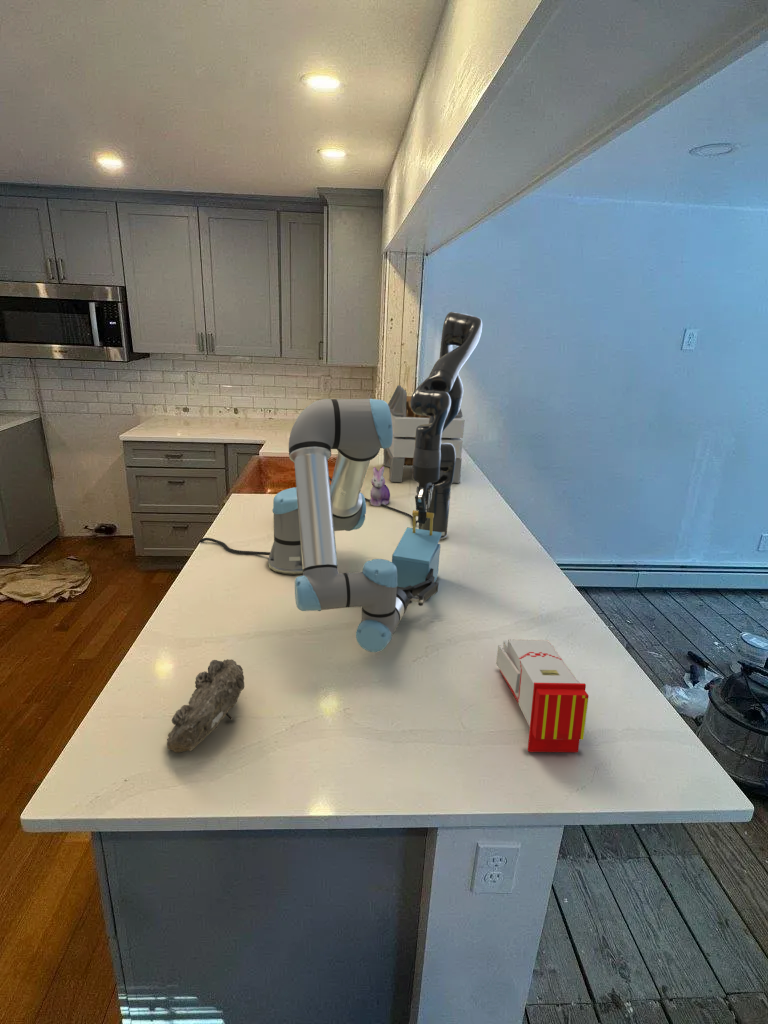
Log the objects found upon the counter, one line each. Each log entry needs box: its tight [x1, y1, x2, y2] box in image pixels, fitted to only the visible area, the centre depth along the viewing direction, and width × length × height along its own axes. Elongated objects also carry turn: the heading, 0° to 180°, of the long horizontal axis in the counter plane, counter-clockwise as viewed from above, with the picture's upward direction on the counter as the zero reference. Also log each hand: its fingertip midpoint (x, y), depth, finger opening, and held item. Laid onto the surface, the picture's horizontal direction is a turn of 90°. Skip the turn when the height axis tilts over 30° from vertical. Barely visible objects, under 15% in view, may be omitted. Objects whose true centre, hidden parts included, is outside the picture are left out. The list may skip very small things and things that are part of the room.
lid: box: [391, 509, 442, 564], centre depth 158 cm, size 16×10×8 cm, turn 163°
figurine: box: [369, 465, 391, 507], centre depth 228 cm, size 9×10×15 cm
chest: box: [391, 543, 441, 587], centre depth 162 cm, size 16×10×11 cm
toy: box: [495, 638, 589, 753], centre depth 114 cm, size 12×13×30 cm
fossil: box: [166, 658, 245, 754], centre depth 106 cm, size 22×10×15 cm
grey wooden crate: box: [383, 384, 465, 484], centre depth 268 cm, size 34×33×41 cm
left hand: (412, 569), depth 157 cm, fingers closed on chest, 10 cm apart
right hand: (422, 521), depth 162 cm, fingers closed on lid
